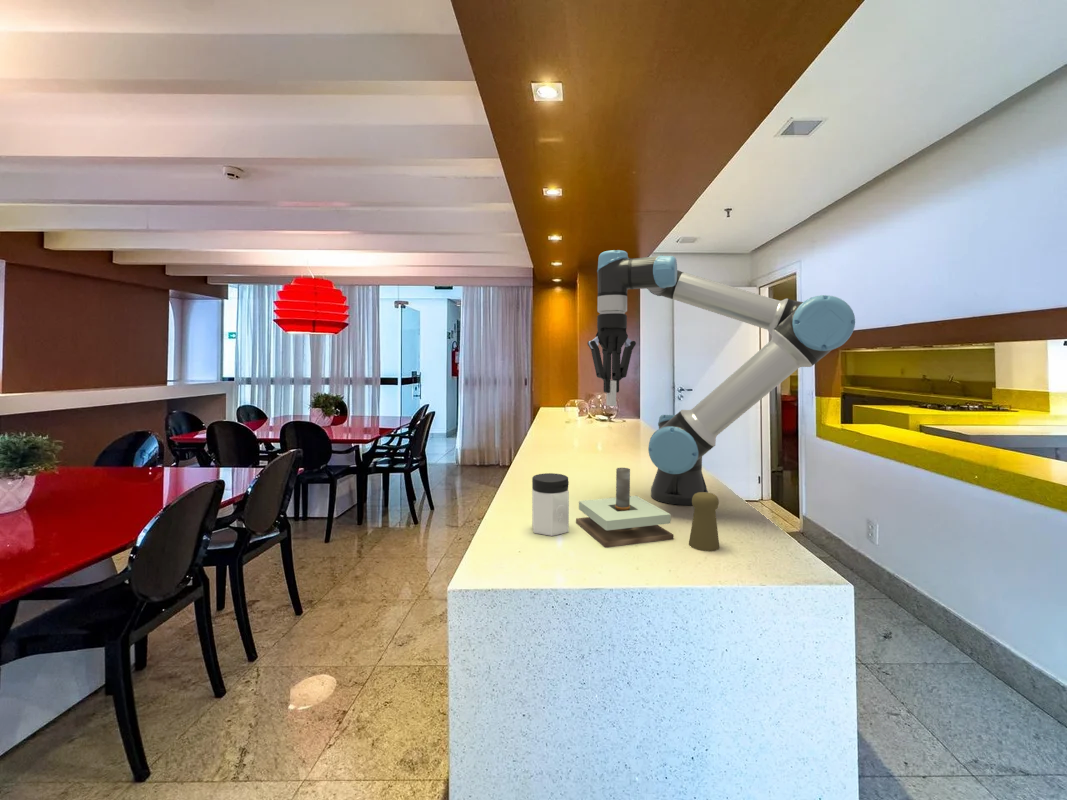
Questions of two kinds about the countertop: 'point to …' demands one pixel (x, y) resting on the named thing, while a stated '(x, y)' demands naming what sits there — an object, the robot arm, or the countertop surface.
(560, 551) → the countertop surface
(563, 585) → the countertop surface
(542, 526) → the jar
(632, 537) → the post
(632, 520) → the square plate with hole
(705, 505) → the cork
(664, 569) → the countertop surface
